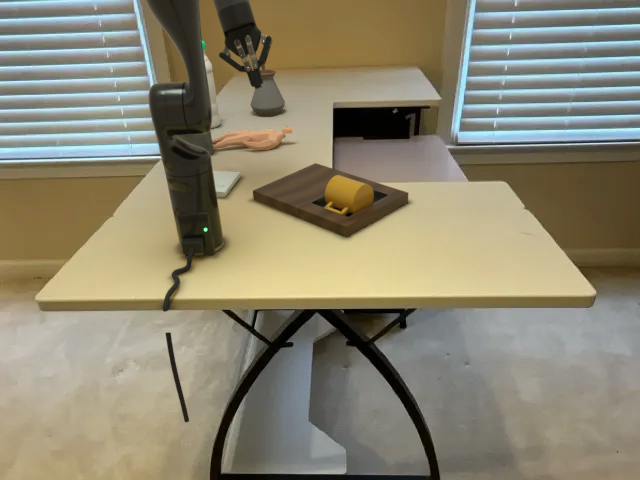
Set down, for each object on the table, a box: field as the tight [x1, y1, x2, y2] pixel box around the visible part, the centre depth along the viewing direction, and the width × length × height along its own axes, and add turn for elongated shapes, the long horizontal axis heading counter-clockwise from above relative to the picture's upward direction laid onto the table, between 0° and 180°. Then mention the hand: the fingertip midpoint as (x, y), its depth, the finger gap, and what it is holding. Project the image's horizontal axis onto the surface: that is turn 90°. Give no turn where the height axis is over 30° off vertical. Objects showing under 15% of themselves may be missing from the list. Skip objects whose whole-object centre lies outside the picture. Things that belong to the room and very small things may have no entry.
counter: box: [252, 162, 409, 238], centre depth 142 cm, size 30×22×2 cm
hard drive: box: [213, 170, 241, 198], centre depth 152 cm, size 2×8×12 cm
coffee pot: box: [250, 55, 286, 117], centre depth 200 cm, size 21×12×15 cm, turn 8°
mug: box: [324, 175, 374, 215], centre depth 135 cm, size 10×7×8 cm
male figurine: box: [212, 125, 294, 151], centre depth 175 cm, size 11×5×25 cm
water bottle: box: [202, 40, 221, 129], centre depth 184 cm, size 7×7×25 cm
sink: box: [310, 189, 390, 218], centre depth 139 cm, size 12×15×2 cm
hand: (258, 87), depth 136 cm, fingers closed
